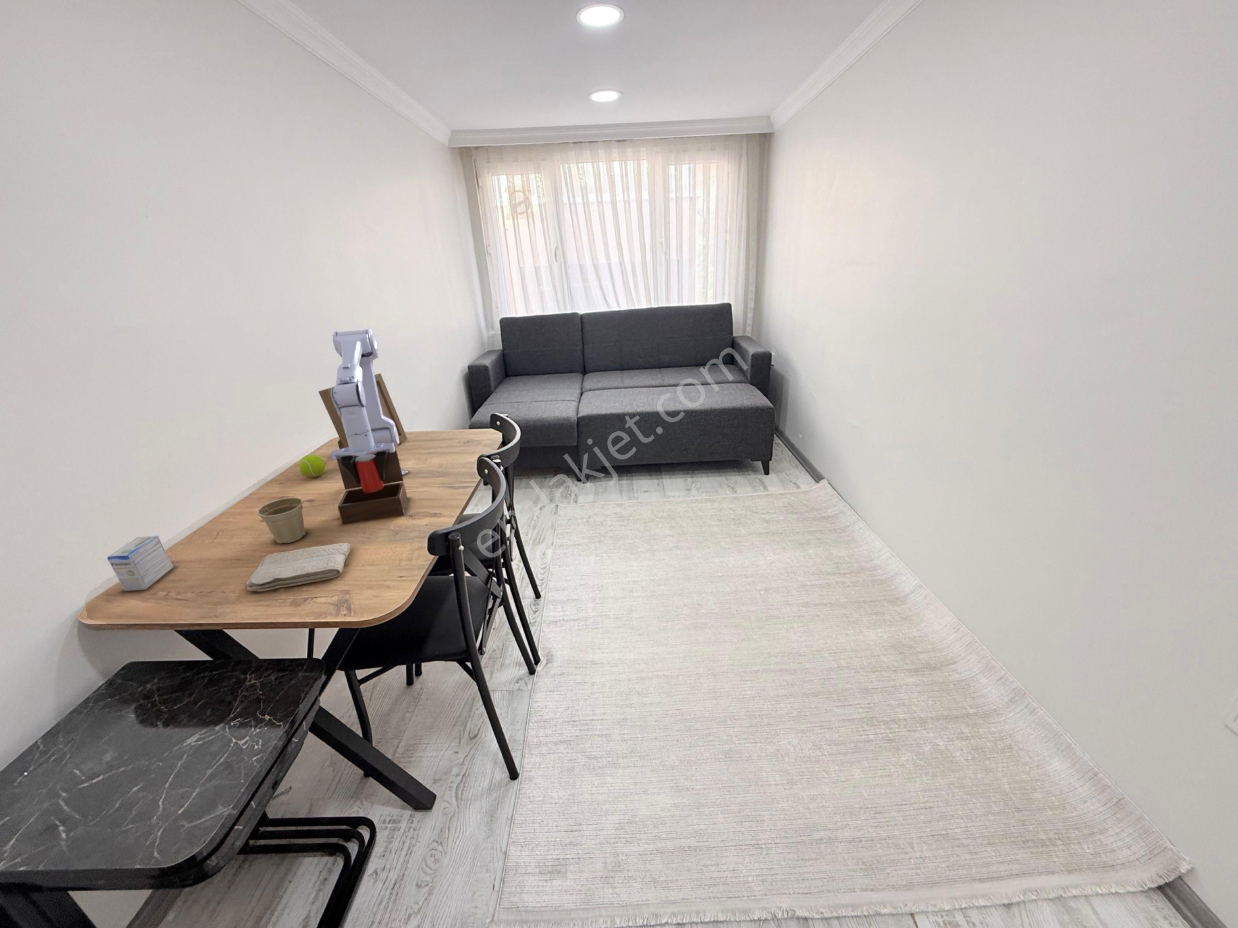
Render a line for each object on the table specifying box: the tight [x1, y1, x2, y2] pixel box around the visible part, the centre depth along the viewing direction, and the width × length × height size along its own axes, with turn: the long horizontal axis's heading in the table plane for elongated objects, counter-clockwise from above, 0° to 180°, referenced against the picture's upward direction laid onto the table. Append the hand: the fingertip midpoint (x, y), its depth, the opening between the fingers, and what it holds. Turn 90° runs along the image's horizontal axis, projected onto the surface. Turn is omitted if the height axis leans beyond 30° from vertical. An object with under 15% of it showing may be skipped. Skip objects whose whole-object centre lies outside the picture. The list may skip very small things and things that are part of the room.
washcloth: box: [245, 542, 352, 592], centre depth 107 cm, size 12×18×3 cm, turn 107°
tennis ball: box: [298, 454, 327, 478], centre depth 153 cm, size 7×7×7 cm
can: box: [354, 454, 385, 493], centre depth 127 cm, size 5×5×9 cm
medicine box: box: [106, 535, 174, 592], centre depth 105 cm, size 8×4×9 cm, turn 5°
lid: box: [336, 445, 404, 490], centre depth 131 cm, size 10×15×1 cm
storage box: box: [337, 481, 409, 526], centre depth 130 cm, size 10×15×5 cm, turn 106°
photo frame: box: [318, 373, 408, 449], centre depth 169 cm, size 15×22×25 cm
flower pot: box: [256, 496, 306, 544], centre depth 119 cm, size 9×9×9 cm
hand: (371, 480), depth 128 cm, fingers closed on can, 5 cm apart
